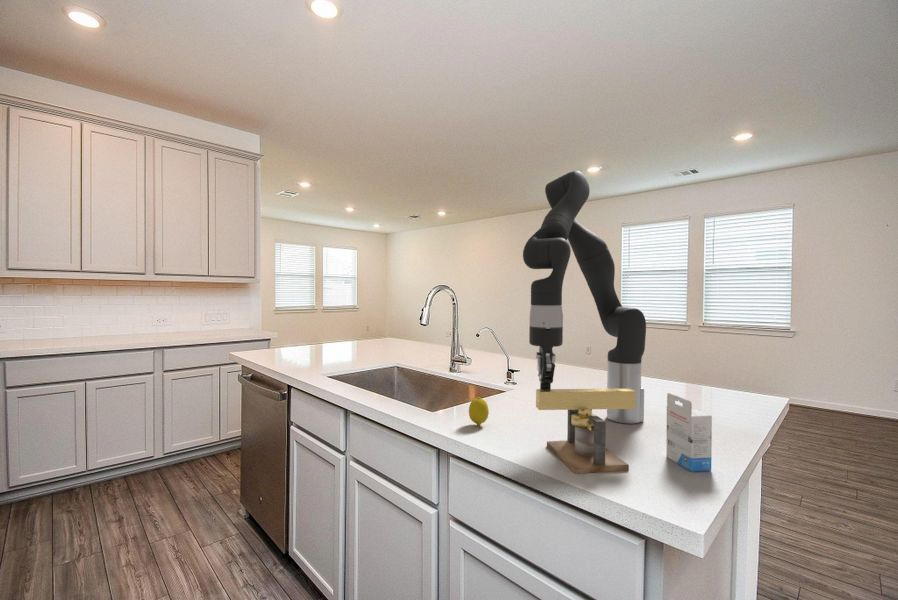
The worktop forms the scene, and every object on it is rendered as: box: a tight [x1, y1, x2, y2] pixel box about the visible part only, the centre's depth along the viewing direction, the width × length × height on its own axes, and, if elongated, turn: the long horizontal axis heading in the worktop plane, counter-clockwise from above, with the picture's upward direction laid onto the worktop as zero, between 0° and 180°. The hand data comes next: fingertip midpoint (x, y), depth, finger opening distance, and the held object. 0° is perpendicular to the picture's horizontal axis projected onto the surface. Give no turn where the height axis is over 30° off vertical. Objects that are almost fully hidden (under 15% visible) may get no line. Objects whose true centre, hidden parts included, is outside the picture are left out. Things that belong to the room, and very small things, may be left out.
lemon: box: [468, 396, 490, 426], centre depth 113 cm, size 6×6×8 cm
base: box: [546, 410, 630, 475], centre depth 91 cm, size 12×15×10 cm
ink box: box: [665, 392, 713, 472], centre depth 88 cm, size 9×5×15 cm, turn 5°
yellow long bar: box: [535, 388, 636, 431], centre depth 91 cm, size 10×22×8 cm, turn 93°
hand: (545, 398), depth 94 cm, fingers closed
